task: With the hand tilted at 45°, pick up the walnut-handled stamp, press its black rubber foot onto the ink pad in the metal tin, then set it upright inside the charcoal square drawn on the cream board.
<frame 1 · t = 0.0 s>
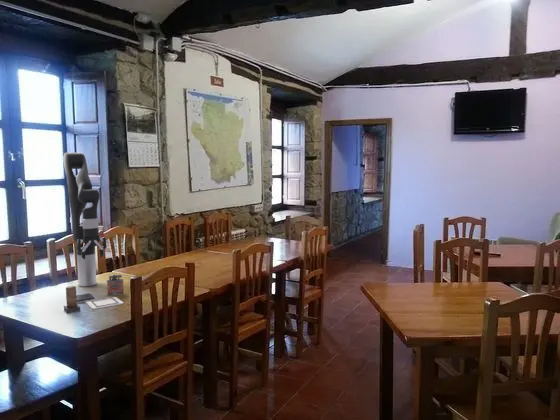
hand: (92, 258, 240), 17 cm above the table, tool pointing down, fingers open, 8 cm apart
ink pad: (82, 299, 224), on the table
lighter: (115, 294, 234), on the table
marked board: (104, 303, 218), on the table
stamp: (72, 310, 208), on the table
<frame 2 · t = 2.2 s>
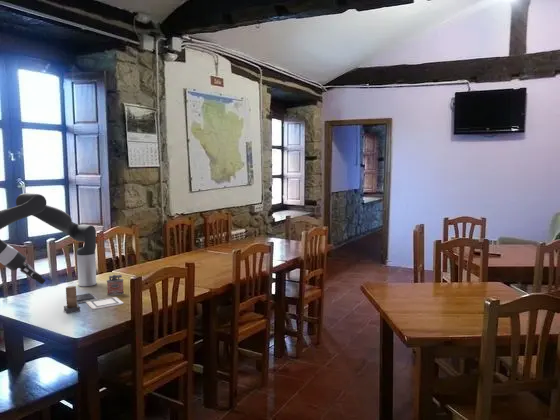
hand: (42, 280, 199), 16 cm above the table, tool tilted 45°, fingers open, 8 cm apart
nothing on the table moved.
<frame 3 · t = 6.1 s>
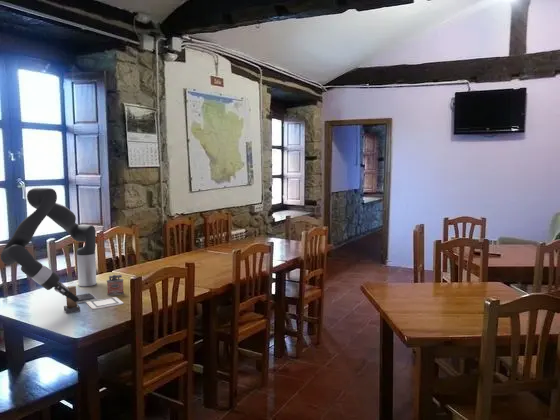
hand: (76, 299, 208), 5 cm above the table, tool tilted 45°, fingers closed on stamp, 4 cm apart
stamp: (72, 310, 208), on the table, touching gripper
everything else where it was.
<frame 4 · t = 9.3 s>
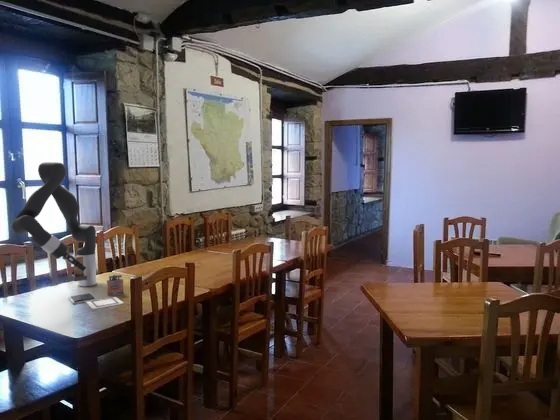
hand: (83, 268, 220), 17 cm above the table, tool tilted 45°, fingers closed on stamp, 4 cm apart
stamp: (79, 279, 219), point 11 cm above the table, touching gripper
everything else where it was.
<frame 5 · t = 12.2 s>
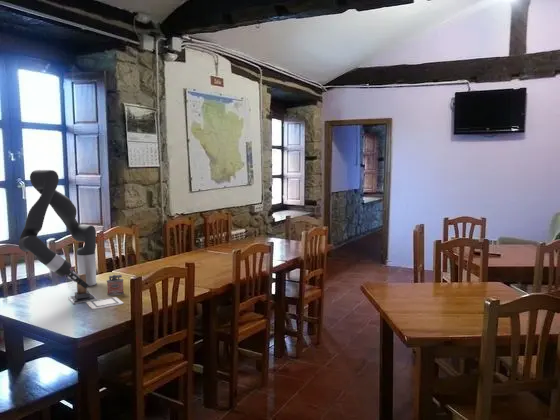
hand: (85, 285, 225), 7 cm above the table, tool tilted 45°, fingers closed on stamp, 4 cm apart
stamp: (82, 296, 224), point 2 cm above the table, touching gripper
everything else where it was.
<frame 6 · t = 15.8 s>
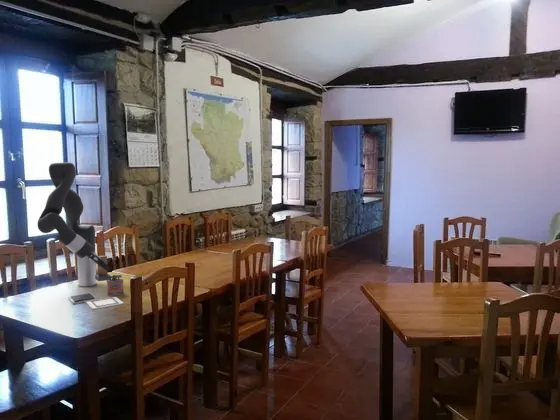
hand: (107, 268, 217), 17 cm above the table, tool tilted 45°, fingers closed on stamp, 4 cm apart
stamp: (102, 279, 217), point 12 cm above the table, touching gripper
everything else where it was.
when the fingers open (7 cm above the table, at t = 18.6 s): stamp stays where it is, resting on marked board.
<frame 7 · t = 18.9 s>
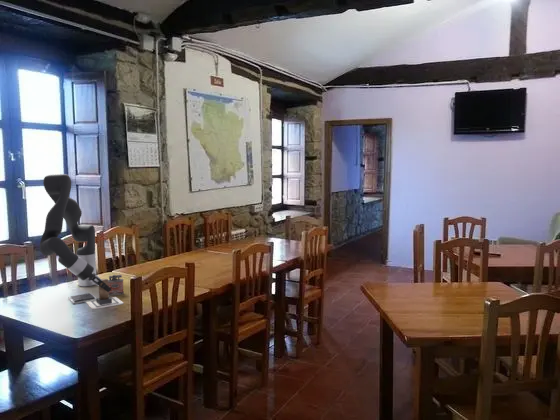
hand: (107, 288, 218), 7 cm above the table, tool tilted 45°, fingers open, 6 cm apart
stamp: (104, 302, 218), point 1 cm above the table, touching marked board
everything else where it was.
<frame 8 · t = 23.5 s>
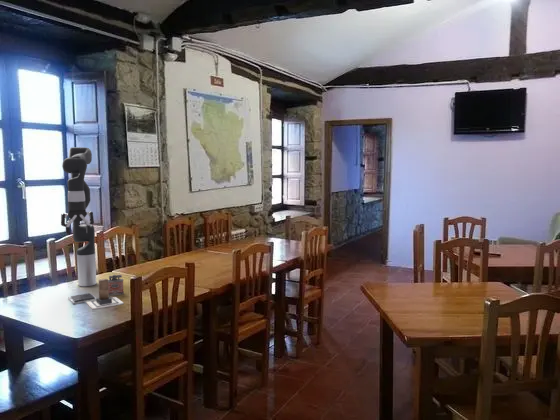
hand: (78, 234, 219), 33 cm above the table, tool pointing down, fingers open, 8 cm apart
nothing on the table moved.
at the end: stamp 0.2 cm off-centre on the marked board, point 0.6 cm above the marked board's base; stamp tilted 0°; the gripper is holding nothing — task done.
